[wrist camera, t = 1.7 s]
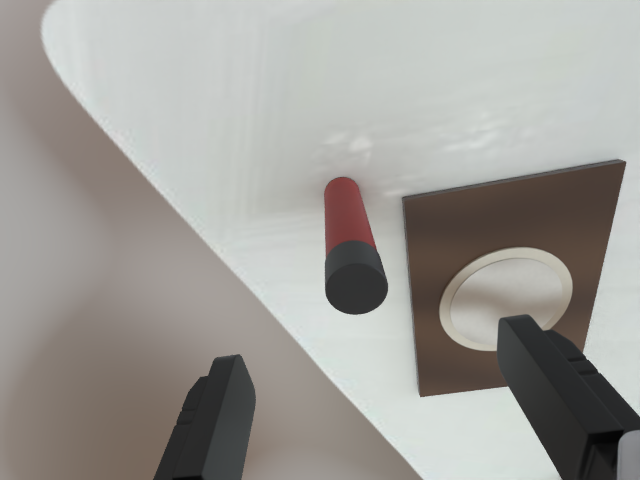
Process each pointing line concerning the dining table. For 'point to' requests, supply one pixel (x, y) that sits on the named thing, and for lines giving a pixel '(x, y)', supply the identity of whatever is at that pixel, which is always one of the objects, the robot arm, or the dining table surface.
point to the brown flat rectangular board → (504, 266)
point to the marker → (351, 252)
